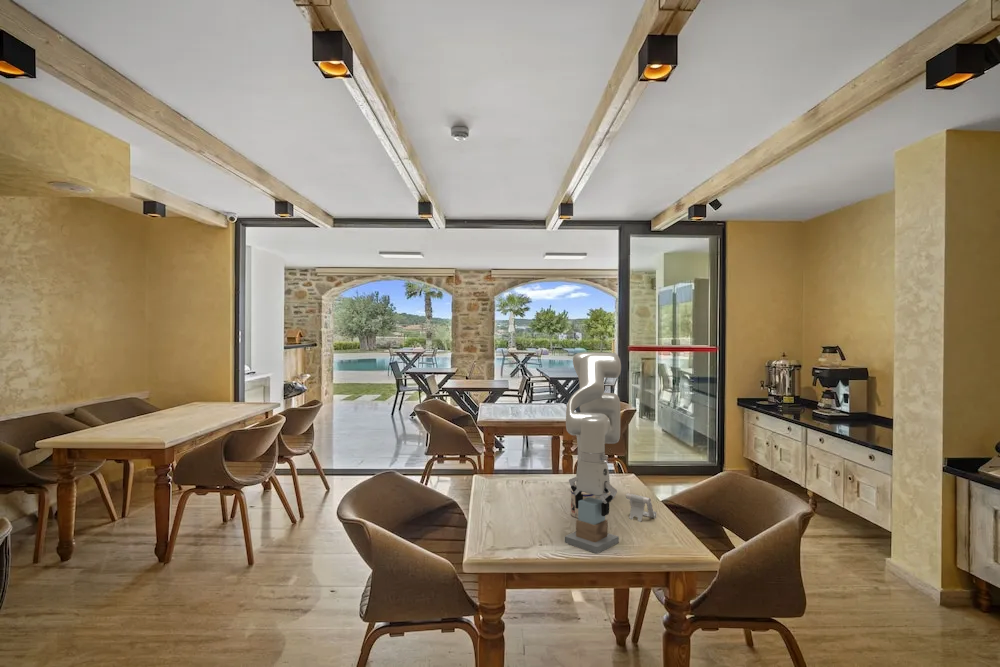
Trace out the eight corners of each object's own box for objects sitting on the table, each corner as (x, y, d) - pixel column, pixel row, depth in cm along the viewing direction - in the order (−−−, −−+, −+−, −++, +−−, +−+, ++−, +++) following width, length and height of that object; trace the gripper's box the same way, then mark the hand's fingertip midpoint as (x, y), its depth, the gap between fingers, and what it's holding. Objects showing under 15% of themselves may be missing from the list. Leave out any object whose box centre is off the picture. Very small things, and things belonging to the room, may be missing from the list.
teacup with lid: (571, 510, 195) (571, 478, 195) (596, 512, 193) (596, 480, 193) (569, 521, 183) (569, 487, 183) (595, 523, 181) (595, 489, 182)
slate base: (586, 532, 173) (586, 526, 173) (618, 542, 164) (618, 536, 164) (564, 542, 164) (564, 536, 164) (597, 553, 156) (597, 547, 156)
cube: (589, 515, 169) (589, 496, 169) (605, 520, 164) (605, 501, 164) (578, 520, 164) (578, 500, 164) (594, 525, 160) (594, 505, 160)
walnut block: (588, 530, 169) (588, 514, 169) (607, 536, 164) (607, 520, 164) (575, 536, 164) (576, 520, 164) (594, 542, 159) (594, 525, 159)
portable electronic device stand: (656, 518, 188) (656, 494, 188) (646, 523, 182) (646, 499, 182) (634, 512, 194) (634, 489, 194) (624, 517, 188) (624, 494, 188)
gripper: (622, 459, 161) (622, 515, 161) (576, 450, 173) (576, 502, 173) (609, 463, 156) (609, 521, 156) (563, 454, 168) (562, 507, 168)
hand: (591, 511), depth 164 cm, fingers open, 9 cm apart
